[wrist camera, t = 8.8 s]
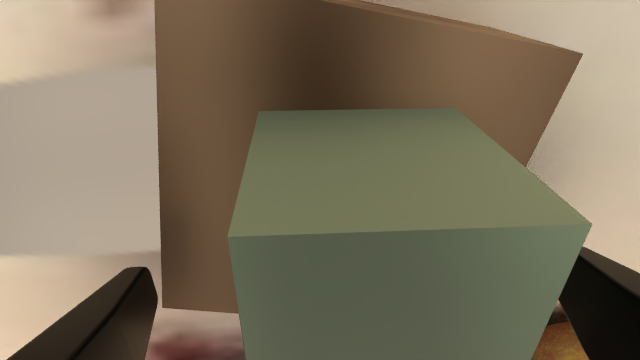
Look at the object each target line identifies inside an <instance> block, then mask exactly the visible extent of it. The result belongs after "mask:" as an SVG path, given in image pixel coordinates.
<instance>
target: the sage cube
mask: <svg viewBox="0 0 640 360" xmlns="http://www.w3.org/2000/svg"><path fill="white" fill-rule="evenodd" d="M591 226H592V224H591V223H590V222H589V221H588V220H587V219H586V218H584V217H583V216H582V215H581V214H580V213H578V212H577V211H576V210H575V209H574V208H573V207H571V206H570V205H569V204H568V203H567V202H566V201H564V200H563V199H562V198H561V197H560V196H558V195H557V194H556V193H555V192H554V191H553V190H551V189H550V188H549V187H548V186H547V185H546V184H544V183H543V182H542V181H541V180H540V179H539V178H537V177H536V176H535V175H534V174H533V173H531V172H530V171H529V170H528V169H527V168H526V167H524V166H523V165H522V164H521V163H520V162H519V161H517V160H516V159H515V158H514V157H513V156H511V155H510V154H509V153H508V152H507V151H506V150H504V149H503V148H502V147H501V146H500V145H499V144H497V143H496V142H495V141H494V140H493V139H492V138H490V137H489V136H488V135H487V134H486V133H484V132H483V131H482V130H481V129H480V128H479V127H477V126H476V125H475V124H474V123H473V122H472V121H470V120H469V119H468V118H467V117H466V116H464V115H463V114H462V113H461V112H460V111H459V110H457V109H456V108H415V109H355V110H295V111H259V112H258V116H257V120H256V124H255V128H254V132H253V136H252V140H251V144H250V148H249V152H248V157H247V161H246V165H245V169H244V173H243V177H242V181H241V185H240V189H239V193H238V197H237V201H236V205H235V209H234V213H233V217H232V221H231V225H230V229H229V233H228V237H227V238H228V244H229V251H230V257H231V264H232V271H233V277H234V284H235V291H236V297H237V304H238V310H239V317H240V324H241V330H242V337H243V344H244V350H245V357H246V360H531V358H532V356H533V354H534V352H535V350H536V347H537V345H538V343H539V341H540V339H541V336H542V334H543V332H544V330H545V327H546V325H547V323H548V321H549V319H550V316H551V314H552V312H553V310H554V308H555V305H556V303H557V301H558V299H559V296H560V294H561V292H562V290H563V288H564V285H565V283H566V281H567V279H568V277H569V274H570V272H571V270H572V268H573V265H574V263H575V261H576V259H577V257H578V254H579V252H580V250H581V248H582V246H583V243H584V241H585V239H586V237H587V234H588V232H589V230H590V228H591Z"/></svg>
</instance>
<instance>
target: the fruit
mask: <svg viewBox="0 0 640 360" xmlns="http://www.w3.org/2000/svg"><path fill="white" fill-rule="evenodd" d="M531 360H589V358H588V357H587V355H586V353H585V352H584V350H583V348H582V346H581V344H580V342H579V341H578V339H577V337H576V335H575V333H574V331H573V328H572V326H571V324H570V322H562V323H556V324H551V325H548V326H546V327H545V330H544V332H543V334H542V336H541V339H540V341H539V343H538V345H537V347H536V350H535V352H534V354H533V356H532V358H531Z"/></svg>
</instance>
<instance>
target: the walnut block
mask: <svg viewBox="0 0 640 360" xmlns="http://www.w3.org/2000/svg"><path fill="white" fill-rule="evenodd" d="M155 35H156V73H157V113H158V148H159V149H158V152H159V189H160V229H161V268H162V307H163V308H173V309H186V310H199V311H212V312H225V313H238V314H239V310H238V304H237V297H236V291H235V284H234V277H233V271H232V264H231V257H230V251H229V244H228V238H227V237H228V233H229V229H230V225H231V221H232V217H233V213H234V209H235V205H236V201H237V197H238V193H239V189H240V185H241V181H242V177H243V173H244V169H245V165H246V161H247V157H248V152H249V148H250V144H251V140H252V136H253V132H254V128H255V124H256V120H257V116H258V112H259V111H295V110H355V109H415V108H456V109H457V110H459V111H460V112H461V113H462V114H463V115H464V116H466V117H467V118H468V119H469V120H470V121H472V122H473V123H474V124H475V125H476V126H477V127H479V128H480V129H481V130H482V131H483V132H484V133H486V134H487V135H488V136H489V137H490V138H492V139H493V140H494V141H495V142H496V143H497V144H499V145H500V146H501V147H502V148H503V149H504V150H506V151H507V152H508V153H509V154H510V155H511V156H513V157H514V158H515V159H516V160H517V161H519V162H520V163H521V164H522V165H523V166H524V167H526V165H527V163H528V161H529V159H530V157H531V155H532V154H533V152H534V150H535V148H536V146H537V144H538V142H539V140H540V138H541V136H542V134H543V132H544V130H545V128H546V126H547V124H548V122H549V120H550V118H551V116H552V114H553V112H554V110H555V108H556V106H557V104H558V102H559V100H560V98H561V97H562V95H563V93H564V91H565V89H566V87H567V85H568V83H569V81H570V79H571V77H572V75H573V73H574V71H575V69H576V67H577V65H578V63H579V61H580V59H581V57H582V55H583V54H582V53H578V52H575V51H571V50H568V49H564V48H561V47H557V46H554V45H550V44H547V43H543V42H540V41H536V40H533V39H529V38H526V37H522V36H519V35H515V34H512V33H508V32H505V31H501V30H498V29H494V28H490V27H485V26H480V25H475V24H471V23H466V22H461V21H456V20H451V19H446V18H442V17H437V16H432V15H427V14H422V13H417V12H413V11H408V10H403V9H398V8H393V7H388V6H384V5H379V4H374V3H369V2H364V1H359V0H155Z"/></svg>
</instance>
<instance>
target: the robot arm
mask: <svg viewBox="0 0 640 360" xmlns="http://www.w3.org/2000/svg"><path fill="white" fill-rule="evenodd" d="M558 300H559V302H560V304H561V306H562V308H563V310H564V312H565V314H566V316H567V318H568V320H569V322H570V324H571V326H572V328H573V331H574V333H575V335H576V337H577V339H578V341H579V342H580V344H581V346H582V348H583V350H584V352H585V353H586V355H587V357H588V358H589V360H640V273H638V272H636V271H634V270H632V269H630V268H627V267H625V266H623V265H621V264H619V263H617V262H615V261H613V260H611V259H609V258H607V257H604V256H602V255H600V254H598V253H596V252H594V251H592V250H590V249H588V248H585V247H582V248H581V250H580V252H579V254H578V257H577V259H576V261H575V263H574V265H573V268H572V270H571V272H570V274H569V277H568V279H567V281H566V283H565V285H564V288H563V290H562V292H561V294H560V296H559V299H558ZM157 303H158V297H157V292H156V289H155V286H154V282H153V279H152V276H151V273H150V271H149V269H148V268H147V267H130V268H126V269H124V270H123V271H122V272H120V273H119V274H118V275H116V276H115V277H114V278H112V279H111V280H110V281H108V282H107V283H106V284H105V285H103V286H102V287H101V288H99V289H98V290H97V291H95V292H94V293H93V294H92V295H90V296H89V297H88V298H86V299H85V300H84V301H82V302H81V303H80V304H78V305H77V306H76V307H75V308H73V309H72V310H71V311H69V312H68V313H67V314H65V315H64V316H63V317H62V318H60V319H59V320H58V321H56V322H55V323H54V324H52V325H51V326H50V327H49V328H47V329H46V330H45V331H43V332H42V333H41V334H39V335H38V336H37V337H35V338H34V339H33V340H32V341H30V342H29V343H28V344H26V345H25V346H24V347H22V348H21V349H20V350H19V351H17V352H16V353H15V354H13V355H12V356H11V357H9V358H8V359H7V360H145V356H146V352H147V347H148V343H149V339H150V334H151V330H152V326H153V322H154V317H155V313H156V309H157Z"/></svg>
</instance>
